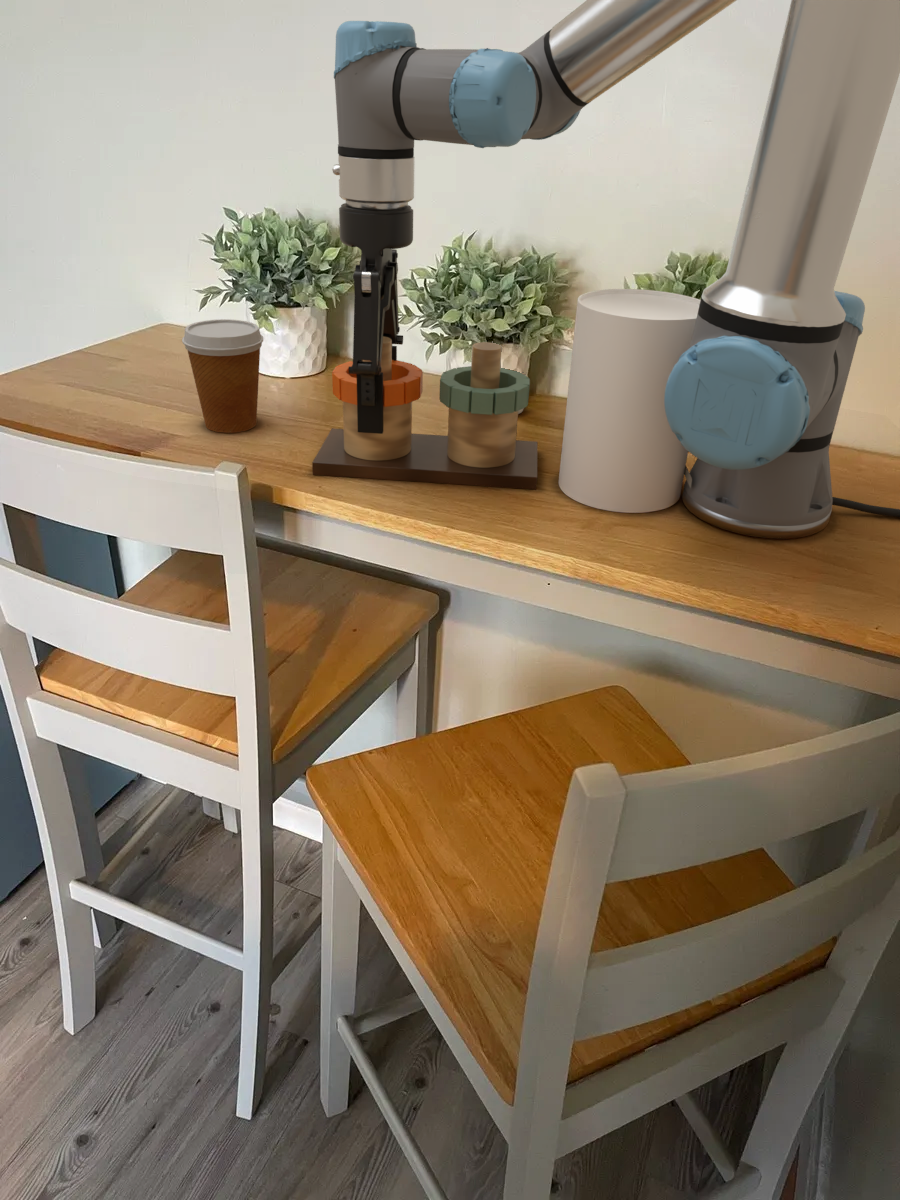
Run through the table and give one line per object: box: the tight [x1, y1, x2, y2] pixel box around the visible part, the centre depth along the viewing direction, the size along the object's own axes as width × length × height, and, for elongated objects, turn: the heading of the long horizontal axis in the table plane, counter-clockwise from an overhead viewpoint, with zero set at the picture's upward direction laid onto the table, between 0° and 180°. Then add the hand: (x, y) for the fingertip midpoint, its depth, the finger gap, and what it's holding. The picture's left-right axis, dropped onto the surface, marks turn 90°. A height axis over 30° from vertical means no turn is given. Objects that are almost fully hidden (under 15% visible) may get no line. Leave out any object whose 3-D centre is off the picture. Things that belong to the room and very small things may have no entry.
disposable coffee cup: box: [181, 318, 264, 434], centre depth 110 cm, size 10×10×12 cm
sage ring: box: [439, 365, 531, 415], centre depth 99 cm, size 10×10×2 cm
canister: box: [558, 288, 701, 514], centre depth 95 cm, size 14×14×20 cm
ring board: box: [311, 336, 538, 491], centre depth 101 cm, size 25×11×14 cm, turn 85°
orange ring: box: [331, 359, 424, 407], centre depth 100 cm, size 10×10×2 cm
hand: (378, 415), depth 102 cm, fingers closed on orange ring, 10 cm apart
